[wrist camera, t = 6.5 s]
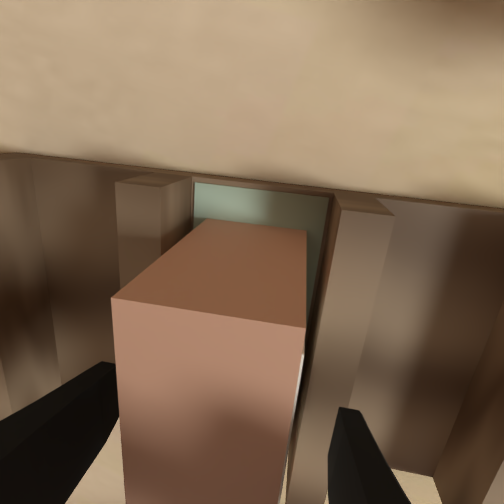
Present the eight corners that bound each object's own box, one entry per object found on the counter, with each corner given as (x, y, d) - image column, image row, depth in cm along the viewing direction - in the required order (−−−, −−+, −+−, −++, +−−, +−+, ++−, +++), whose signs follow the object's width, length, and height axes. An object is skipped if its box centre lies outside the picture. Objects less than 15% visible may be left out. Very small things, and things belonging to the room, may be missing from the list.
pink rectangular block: (310, 230, 13) (313, 330, 6) (281, 425, 16) (263, 618, 10) (203, 217, 13) (104, 297, 7) (197, 408, 17) (127, 582, 10)
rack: (456, 464, 17) (499, 558, 13) (51, 382, 19) (-10, 441, 16) (563, 215, 12) (675, 250, 9) (17, 152, 15) (-80, 158, 11)
